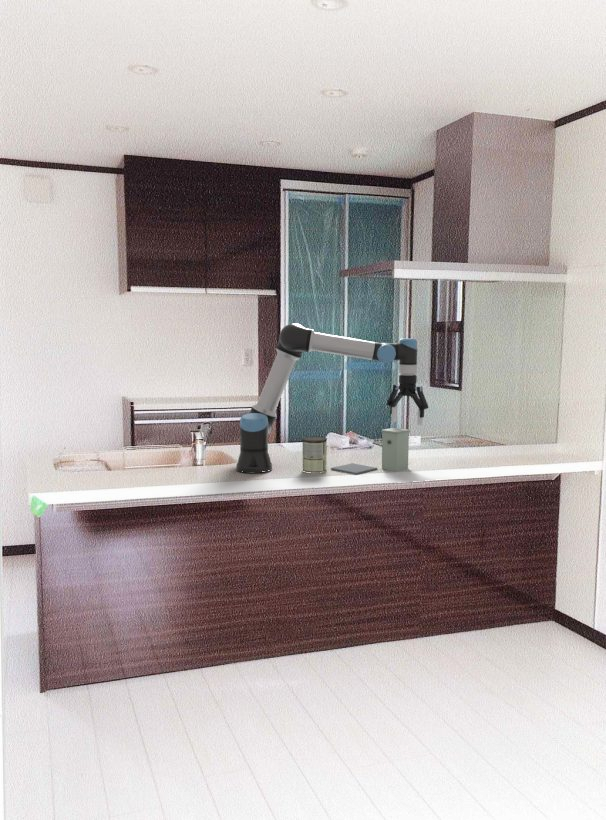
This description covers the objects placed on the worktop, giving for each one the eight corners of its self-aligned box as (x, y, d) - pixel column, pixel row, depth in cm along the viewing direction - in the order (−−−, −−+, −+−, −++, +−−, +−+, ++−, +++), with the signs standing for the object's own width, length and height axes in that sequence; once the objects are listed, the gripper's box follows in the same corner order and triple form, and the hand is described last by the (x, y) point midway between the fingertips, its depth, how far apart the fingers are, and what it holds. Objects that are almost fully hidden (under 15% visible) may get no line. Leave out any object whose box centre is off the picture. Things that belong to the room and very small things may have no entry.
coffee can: (299, 469, 312) (299, 436, 310) (322, 468, 315) (322, 435, 313) (306, 474, 302) (306, 440, 301) (330, 473, 305) (330, 439, 304)
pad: (356, 474, 302) (356, 472, 302) (330, 469, 312) (330, 467, 312) (377, 469, 312) (377, 467, 312) (352, 464, 322) (352, 463, 322)
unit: (396, 471, 308) (397, 432, 306) (380, 468, 314) (380, 429, 312) (409, 468, 315) (410, 429, 313) (393, 465, 321) (394, 427, 318)
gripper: (437, 375, 309) (436, 425, 312) (389, 372, 326) (389, 419, 329) (427, 376, 304) (425, 427, 306) (379, 373, 321) (378, 421, 324)
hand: (406, 423), depth 318 cm, fingers open, 13 cm apart
